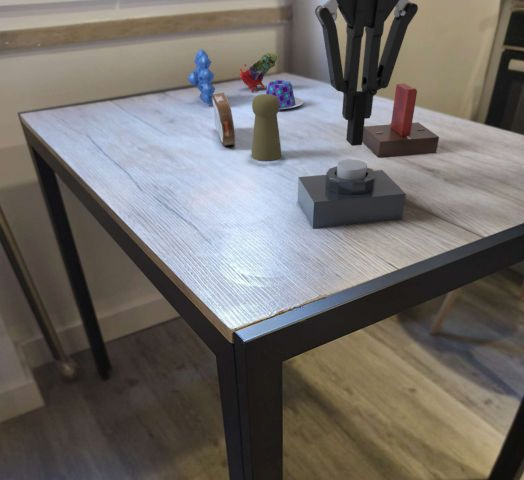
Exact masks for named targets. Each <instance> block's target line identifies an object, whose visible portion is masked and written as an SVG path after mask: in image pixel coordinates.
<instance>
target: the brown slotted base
mask: <svg viewBox="0 0 524 480" xmlns="http://www.w3.org/2000/svg"><path fill="white" fill-rule="evenodd" d="M439 141H440V136H439V135H438V134H436V133H435V132H433V131H432V130H430V129H428V128H427V127H426V126H424V125H423V124H421V123H420V122H412V127H411V133H410V135H409V136H401V135H400V134H399V133H397V132H396V131H395V130H394V129H392V128H391V122H390V123H389V124H377V125H376V124H375V125H364V130H363V140H362V144H364V146H366V147H367V148H368V149H369V150H370V151H371V152H372V153H373V154H374V155H375V156H376V157H377V158H386V157H387V158H388V157H389V158H390V157H399V156H400V157H401V156H411V155H412V156H413V155H423V154H436V153H437V150H438V145H439Z"/></svg>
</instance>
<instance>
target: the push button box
mask: <svg viewBox="0 0 524 480" xmlns="http://www.w3.org/2000/svg"><path fill="white" fill-rule="evenodd" d="M297 179H298V180H297V203H298V205H299V207H300V209H301V211H302V212H303V214H304V216H305V217H306V219H307V222H308V223H309V224H310V226H311V228H312V229H313V230H314V229H323V228H335V227H345V226H354V225H365V224H375V223H385V222H396V221H402V220H403V215H404V208H405V203H406V196H407V193H406V192H405V191H404V190H403V189H402V187H400V186H399V185H398V184H397V183H396V182H395V181H394V180H393V179H392V178H391V177H390V176H389V175H388V174H387V173H386V172H385V170H383V169H376V170H374V169H372V168H370V167H367V170H366V177H365V178H362V179H357V180H348V179H342V178H339V177H337V165H336V166H333V167H331V168H328V170H327V171H326V173H325V174H319V175H307V176H298V178H297Z"/></svg>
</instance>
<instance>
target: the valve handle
mask: <svg viewBox="0 0 524 480" xmlns="http://www.w3.org/2000/svg"><path fill="white" fill-rule="evenodd" d="M417 96H418V90H417V88H416V87H412V86H410V85H408V84H406V83H405V82H404V83H396V85H395V93H394V100H393V106H392V115H391V121H390V123H391V128H392V129H394V130H395V131H396V132H397V133H399V134H400V135H401V136H409V135H410V133H411V127H412V123H413V120H414V115H415V114H414V113H415V108H416V103H417V102H416V100H417Z"/></svg>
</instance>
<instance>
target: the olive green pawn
mask: <svg viewBox="0 0 524 480" xmlns="http://www.w3.org/2000/svg"><path fill="white" fill-rule="evenodd" d="M279 108H280V103H279V100H278V98H277V97H276V96H275V95H271V94H266V93H262V94H257V95H256V96H254V97H253V99H252V102H251V109H252V113H253V114H254V124H253V135H252V147H251V154H250V155H251V158H252V159H253V160H255V161H260V162H271V161H276V160H279V159H280V158H282V148H281V147H282V146H281V139H280V131H279V130H280V129H279V122H278V114H279V111H280V110H279Z"/></svg>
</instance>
